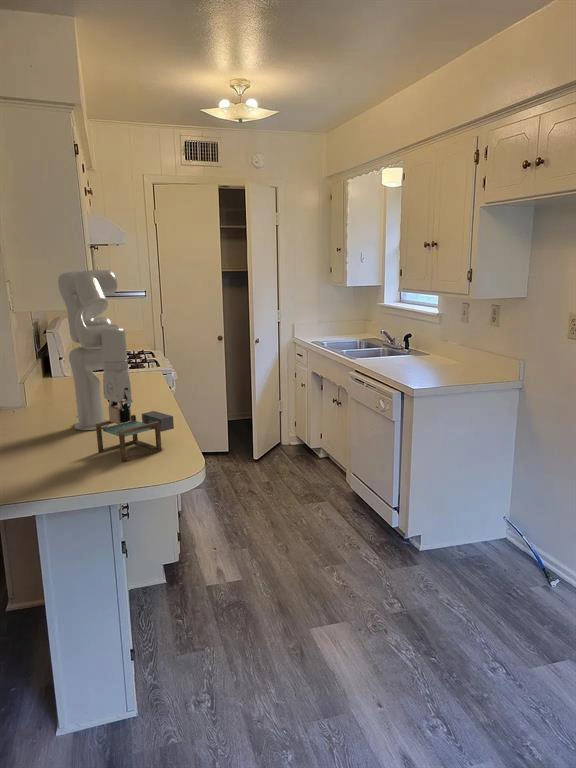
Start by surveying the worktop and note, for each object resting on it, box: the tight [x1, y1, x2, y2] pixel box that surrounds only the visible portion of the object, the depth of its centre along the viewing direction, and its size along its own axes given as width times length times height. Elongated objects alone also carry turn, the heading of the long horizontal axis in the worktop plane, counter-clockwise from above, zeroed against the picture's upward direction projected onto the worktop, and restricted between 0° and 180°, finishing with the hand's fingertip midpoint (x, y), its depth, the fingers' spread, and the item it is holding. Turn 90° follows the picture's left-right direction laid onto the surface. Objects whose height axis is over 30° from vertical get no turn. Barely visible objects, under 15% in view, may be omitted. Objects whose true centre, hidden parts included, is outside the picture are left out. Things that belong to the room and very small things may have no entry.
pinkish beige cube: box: [108, 403, 132, 425], centre depth 182 cm, size 5×5×5 cm
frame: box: [96, 414, 163, 463], centre depth 185 cm, size 16×14×10 cm
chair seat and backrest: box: [102, 410, 175, 438], centre depth 188 cm, size 12×20×4 cm, turn 137°
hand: (120, 419), depth 183 cm, fingers closed on pinkish beige cube, 5 cm apart
